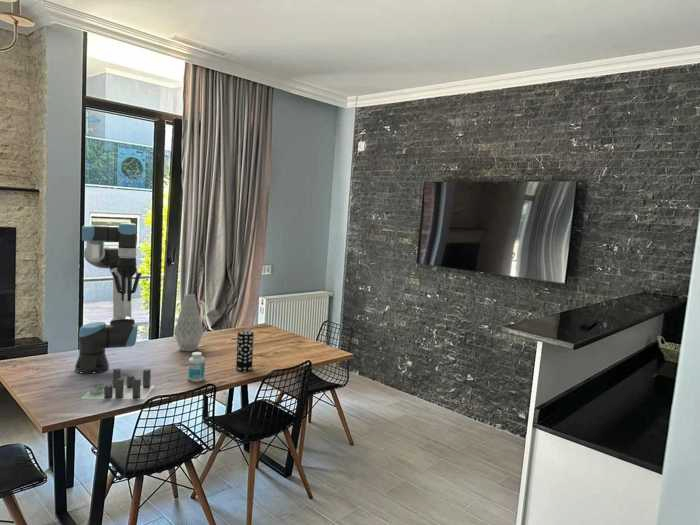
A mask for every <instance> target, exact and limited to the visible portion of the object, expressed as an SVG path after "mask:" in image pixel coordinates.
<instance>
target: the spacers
mask: <svg viewBox="0 0 700 525" xmlns="http://www.w3.org/2000/svg"><path fill="white" fill-rule="evenodd" d="M151 371H152V370H151V369H149V368H146V369H145V368H144V369H143V371H142V379H141V378H136V377H135V376H136V375H132V374H129V375H127V376H126V385H127V388H133V391H132V398H133V399H132V400H139V399H138V398H140V392H141V386H143V388H150V386H151V378H152V376H151V375H152V372H151ZM124 380H125V379H124V378H122V369H121V368H114V369H112V384H106V385H105V384H104V385H105V386H104V398H105V399H104V400H110V399H109V398H112V394H113V388H115V398H116V399H115V400H122V399H121V398H123V393H124ZM141 383H142V385H141Z"/></svg>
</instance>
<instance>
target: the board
mask: <svg viewBox="0 0 700 525" xmlns="http://www.w3.org/2000/svg"><path fill="white" fill-rule="evenodd" d="M104 386H105V384H104ZM154 387H155V385H150V388H143V385H141V392H140V398H138V399H137V400H146V398H147V397H148V396H149V394H150V393H151V391H152V390H153V388H154ZM132 391H133V388H127V384H125V385H124V393H123V398H121V399H120V400H134V399H133V398H132ZM80 400H106V399H105V398H104V392H103V393H101V394H95V395H94V394H90V393H89V390H88V391H87V392H86V393H84V395H83V396H82V397H81V398H80ZM108 400H117V399H116V398H115V388H113V394H112V398H109V399H108Z"/></svg>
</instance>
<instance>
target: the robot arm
mask: <svg viewBox="0 0 700 525" xmlns="http://www.w3.org/2000/svg"><path fill="white" fill-rule="evenodd" d="M137 229H138V228H137V224H136V223H132V222H128V223H127V222H121V223H120V222H119V224H118V225H97V224H96V225H94V224H85V225H82V227H81V240H82V242H86V244H85V246H86V247H85V248H84V250H83V256H84V258H85V261H86V262H87V263H89V265H92V266H93V267H95V268H99V269H109V272H110V273H111V275H112V304H113V305H112V307H113V308H112V310H113V312H112V313H113V314H112V315H113V318H112V319H111V320H110V321H109V324H106V322H105V321H95V322H89V323H85V324H83V325H82V326H81V327H80V328H79V334H78V337H79V339H78V340H79V345H78V347H79V348H78V349H79V350H78V352H79V354H78V357H77V360H76V364H75V366H74V371H75V370H76V371H78V372H82V373H93V372H99V373H102V372H101V371H103V372H106V371H108V370H109V369H108V368H109V367H110V364H109V361H108V357H107V355H106V349H113V348H115V349H116V348H117V349H118V348H127V347H128V348H129V347H133V346H135V345H136V342H137V338H138V337H137V336H138V326H139V324H138V323H135V319H134V318H132V294H135V293H136V292H137V289H138V285H139V281H140V278H141V276H142V275H143V273H142V272H140V271H138V269H137V233H138V230H137ZM105 243H118V246H104V245H105ZM134 275H135V278H134V282H133V281H132V280H133V277H134ZM107 369H108V370H107ZM105 370H106V371H105ZM76 371H75V372H76ZM78 372H77V373H78ZM82 373H81V374H82ZM93 374H94V373H93Z"/></svg>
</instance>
